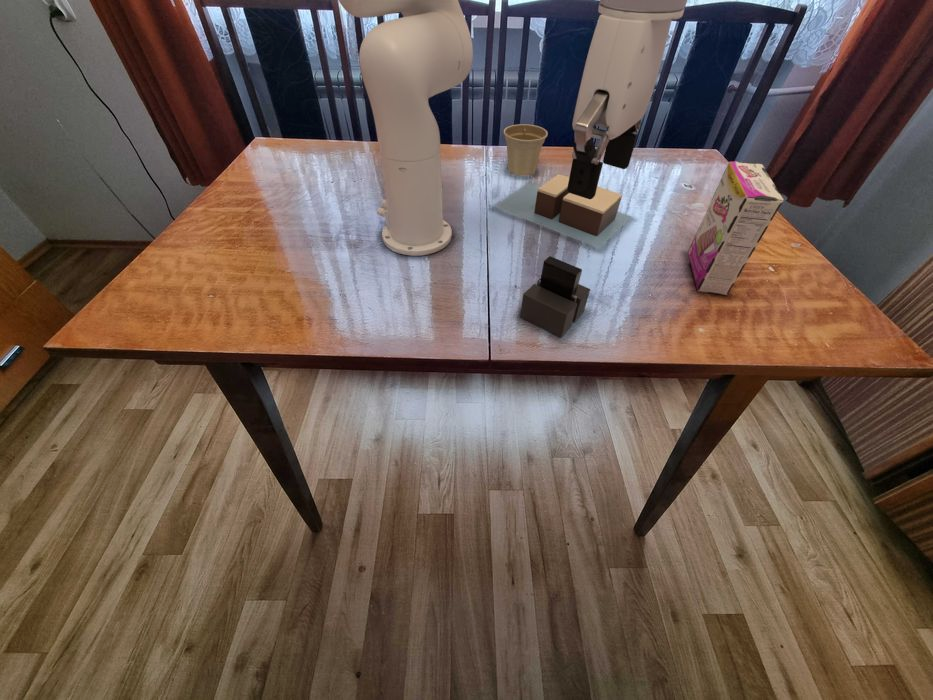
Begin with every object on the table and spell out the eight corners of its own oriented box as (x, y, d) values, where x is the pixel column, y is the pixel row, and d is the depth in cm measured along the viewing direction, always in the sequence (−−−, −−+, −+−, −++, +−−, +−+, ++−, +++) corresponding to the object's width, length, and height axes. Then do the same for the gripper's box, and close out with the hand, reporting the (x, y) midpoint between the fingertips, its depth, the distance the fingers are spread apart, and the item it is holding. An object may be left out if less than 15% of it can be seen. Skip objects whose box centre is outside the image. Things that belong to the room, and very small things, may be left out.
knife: (532, 309, 63) (540, 259, 57) (537, 303, 64) (546, 254, 58) (567, 326, 61) (580, 276, 54) (572, 320, 62) (585, 270, 55)
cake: (558, 222, 80) (563, 197, 76) (578, 206, 84) (583, 181, 80) (596, 236, 76) (603, 211, 73) (615, 219, 81) (622, 194, 77)
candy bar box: (684, 253, 74) (727, 159, 62) (714, 256, 73) (763, 163, 61) (694, 292, 67) (746, 194, 55) (728, 297, 66) (787, 199, 54)
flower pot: (494, 165, 98) (497, 126, 91) (531, 161, 100) (536, 121, 93) (509, 183, 92) (513, 142, 85) (548, 178, 94) (555, 137, 87)
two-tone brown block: (534, 213, 82) (537, 188, 78) (554, 197, 86) (558, 173, 82) (551, 219, 80) (556, 195, 77) (571, 203, 85) (576, 179, 81)
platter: (493, 209, 84) (493, 206, 83) (530, 184, 91) (530, 181, 91) (598, 250, 74) (599, 247, 74) (630, 219, 82) (631, 216, 81)
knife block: (519, 317, 62) (522, 293, 59) (543, 293, 66) (548, 270, 63) (561, 338, 59) (567, 314, 56) (583, 312, 63) (590, 289, 60)
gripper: (639, -20, 44) (599, 149, 56) (561, 0, 34) (534, 198, 47) (713, -14, 41) (654, 163, 53) (651, 11, 31) (596, 219, 44)
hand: (598, 179), depth 50 cm, fingers open, 9 cm apart
